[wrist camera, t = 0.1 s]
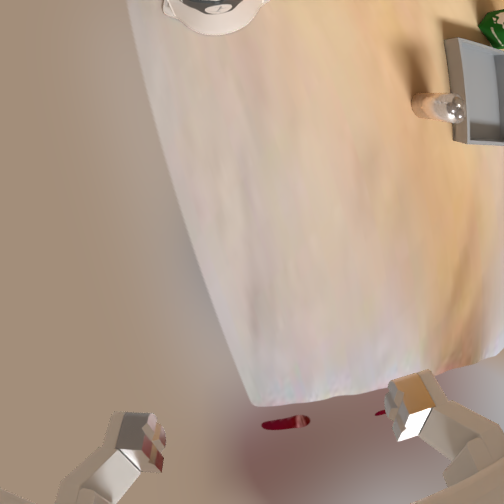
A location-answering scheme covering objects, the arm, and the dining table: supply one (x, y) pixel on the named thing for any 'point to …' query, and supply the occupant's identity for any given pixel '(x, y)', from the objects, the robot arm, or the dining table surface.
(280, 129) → the dining table surface
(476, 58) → the bin
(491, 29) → the milk carton
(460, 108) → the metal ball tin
